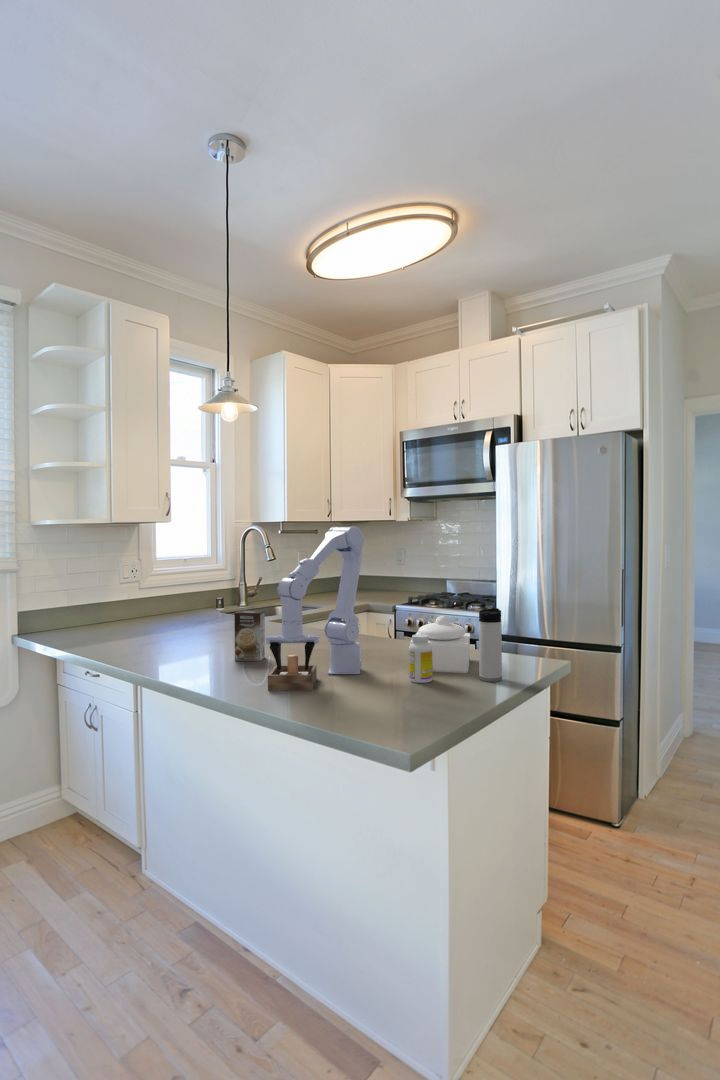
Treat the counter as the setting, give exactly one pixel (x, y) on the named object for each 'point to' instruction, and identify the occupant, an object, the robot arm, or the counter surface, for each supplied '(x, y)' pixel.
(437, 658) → the white lidded jar
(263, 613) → the coffee box
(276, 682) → the peg box
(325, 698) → the counter surface
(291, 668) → the peg
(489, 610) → the travel mug
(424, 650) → the supplement bottle
